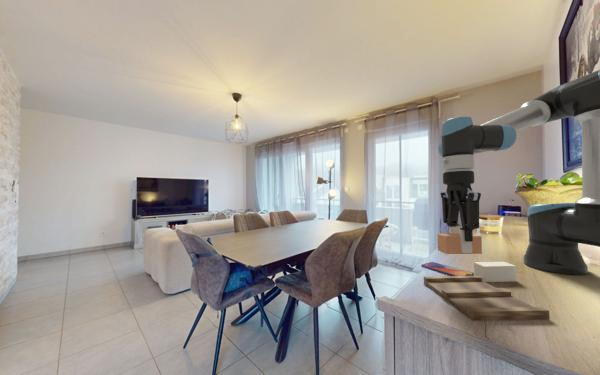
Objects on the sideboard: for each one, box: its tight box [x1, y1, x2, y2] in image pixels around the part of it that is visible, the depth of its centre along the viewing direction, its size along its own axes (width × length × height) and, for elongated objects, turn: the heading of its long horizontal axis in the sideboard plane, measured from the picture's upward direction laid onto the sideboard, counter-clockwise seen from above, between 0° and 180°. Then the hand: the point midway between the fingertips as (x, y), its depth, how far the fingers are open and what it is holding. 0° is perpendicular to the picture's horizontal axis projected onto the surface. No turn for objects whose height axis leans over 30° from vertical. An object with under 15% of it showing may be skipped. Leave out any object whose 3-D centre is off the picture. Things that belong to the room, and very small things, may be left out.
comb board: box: [423, 275, 551, 322], centre depth 59 cm, size 17×20×2 cm
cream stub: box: [473, 261, 517, 283], centre depth 71 cm, size 10×4×5 cm, turn 89°
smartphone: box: [421, 261, 474, 276], centre depth 79 cm, size 7×15×1 cm, turn 26°
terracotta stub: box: [437, 233, 483, 255], centre depth 64 cm, size 10×4×5 cm, turn 89°
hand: (460, 250), depth 64 cm, fingers closed on terracotta stub, 4 cm apart
